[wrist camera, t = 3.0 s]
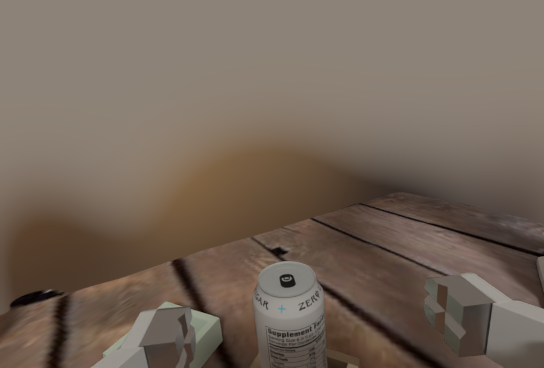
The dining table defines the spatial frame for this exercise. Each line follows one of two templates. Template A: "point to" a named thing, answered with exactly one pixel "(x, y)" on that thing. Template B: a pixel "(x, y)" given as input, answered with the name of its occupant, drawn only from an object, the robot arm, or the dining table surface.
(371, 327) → the dining table surface
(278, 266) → the energy drink can
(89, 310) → the dining table surface
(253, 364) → the birch holder
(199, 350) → the sage socket
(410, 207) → the dining table surface
